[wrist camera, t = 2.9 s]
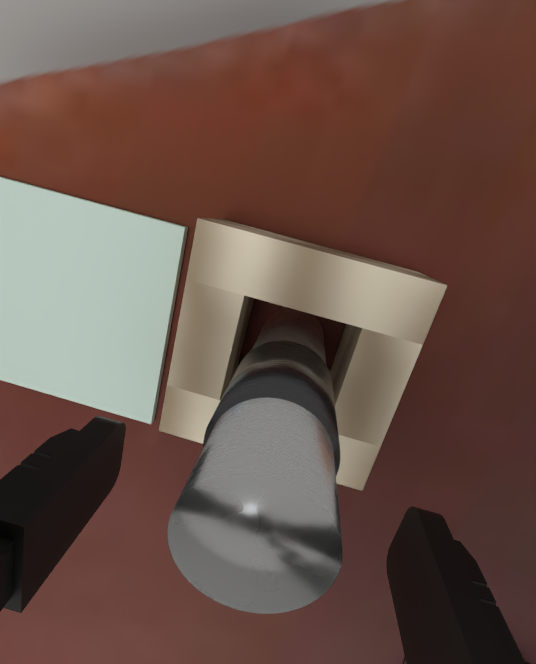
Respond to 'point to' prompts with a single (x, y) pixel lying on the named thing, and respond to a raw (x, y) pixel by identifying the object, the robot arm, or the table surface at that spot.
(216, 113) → the table surface
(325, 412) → the steel peg
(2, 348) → the sage mat
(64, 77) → the table surface
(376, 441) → the eye block
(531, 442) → the table surface
